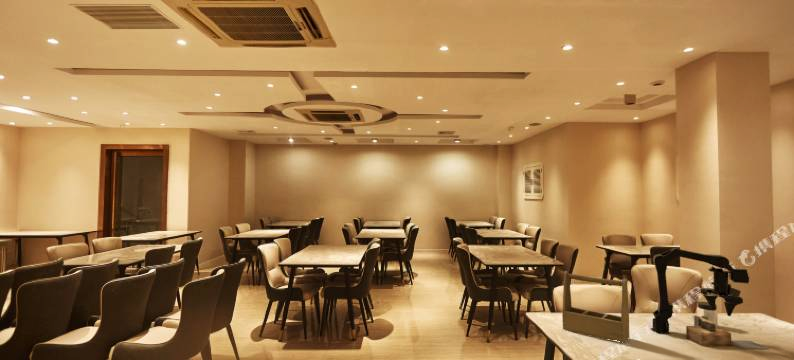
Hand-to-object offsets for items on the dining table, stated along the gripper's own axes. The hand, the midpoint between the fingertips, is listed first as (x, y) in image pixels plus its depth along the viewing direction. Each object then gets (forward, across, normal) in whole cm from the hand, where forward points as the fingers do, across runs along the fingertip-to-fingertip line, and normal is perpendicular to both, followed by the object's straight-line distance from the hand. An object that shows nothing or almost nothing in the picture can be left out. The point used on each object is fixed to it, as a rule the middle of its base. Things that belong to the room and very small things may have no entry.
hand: (721, 313), depth 197 cm
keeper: (+13, +8, +4) cm, 16 cm away
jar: (+13, +21, -10) cm, 27 cm away
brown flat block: (+13, -2, +9) cm, 16 cm away
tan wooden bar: (+7, +6, +4) cm, 10 cm away
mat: (+13, -6, -6) cm, 16 cm away
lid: (+9, -2, +9) cm, 13 cm away
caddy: (+14, +10, +58) cm, 60 cm away
